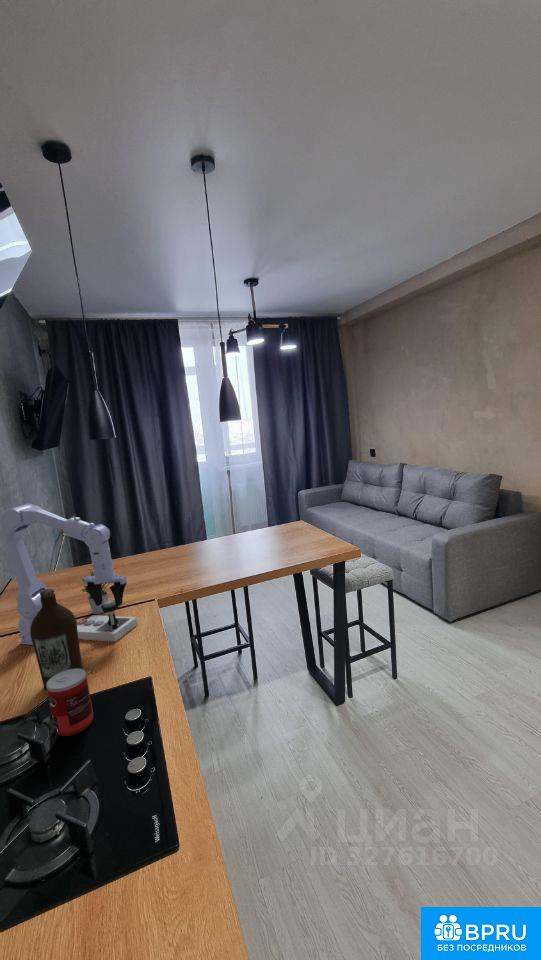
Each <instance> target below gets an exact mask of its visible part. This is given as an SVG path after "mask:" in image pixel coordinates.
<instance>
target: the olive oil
mask: <svg viewBox="0 0 541 960" xmlns="http://www.w3.org/2000/svg"><path fill="white" fill-rule="evenodd" d="M40 596H41V598H40V599H41V603H42V608H41V609H40V611H39V612H38V614H37V615H36V617H35V618H34V620H33V621H32V624H31V628H30V635H31V639H32V643H33V645H32V646H33V649H34V653H35V657H36V661H37V664H38V669H39V672H40V676H41V680H42V685H43V689H44V691H45V692H47V688H46V684H47V682H48V680H49V679H50V678H52V677H53V676H55V675H56V674H58V673H60V672H63V671H66V670H69V669H83V670H84V667H83V662H82V661H83V660H82V654H81V649H80V647H81V646H80V639H78V630H77V625H78V624H77V619H76V616H75V615H74V613H73V611H72V610H71V609H69V608H67V607H65V606H63V605H61V604H60V603H58V602H57V596H56V594H55V590H54V588H47V589H46V590H43V591H41V592H40Z"/></svg>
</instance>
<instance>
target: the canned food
mask: <svg viewBox="0 0 541 960" xmlns="http://www.w3.org/2000/svg"><path fill="white" fill-rule="evenodd" d="M46 688H47V691H46V694H47V698H48V704H49V708H50V713H51V718H52V723H53V726H54V725H55V726H56V727H57V729H58V732H56V734H57V735H59V736H60V737H68V736H74V735H77V734H79V733H82V732H83V731H84V730H86V729H87V728H88V727H89V726H90V725H91V724H92V722H93V720H94V710H93V706H92V698H91V693H90V688H89V682H88V678H87V673H86V670H84V668H83V669H69V670H66V671H63V672H60V673H58V674H56V675H55V676H53V677H52V678H50V679H49V680H48V682H47V684H46Z"/></svg>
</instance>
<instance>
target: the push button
mask: <svg viewBox="0 0 541 960" xmlns="http://www.w3.org/2000/svg"><path fill="white" fill-rule="evenodd" d="M101 609H102V611H103V612H104V613H105V614H107V616H109V620H108V625H109V628H110V629H108V632H113V631H115V630H116V629H117V628H119V627H120V625H118V619H117V618H116V617H115V616H116V613H115V611H117V610H118V609H119V606H116V604H115V599H114V598H112V599H108V600H107V601H105V602H104V604H103V605H102V606H101Z"/></svg>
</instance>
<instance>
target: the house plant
mask: <svg viewBox="0 0 541 960" xmlns="http://www.w3.org/2000/svg"><path fill="white" fill-rule="evenodd" d="M115 569H116V567H113V570H115ZM89 572H90V573H89V574H90V576H94V571H93V569H90V570H89ZM76 578H78V579H80V581H81V582H82V583H84V584H82V586H83V587H84V588H82V589H80V591H81V592H82V593H87V594H89V595H88V596H87V602H88V603H89V606H90V609H91V611H92V614H93V615H101V614H104V613H105V612H103V611H102V609H101V606H102V605H103V604H104V602H105V601H107V600H109V592H108V591H106V589H107V588H108V587H109V585H110V584H111V583H102V586H101V593H102V604H101V605H99V606H96V604H95V602H94V600H93V598H92V596H91V595H90V593H89V592H88V591H87V590H86V589H85V587H86V586H88V584H85V582H84V578H82V577H80V576H76Z"/></svg>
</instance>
